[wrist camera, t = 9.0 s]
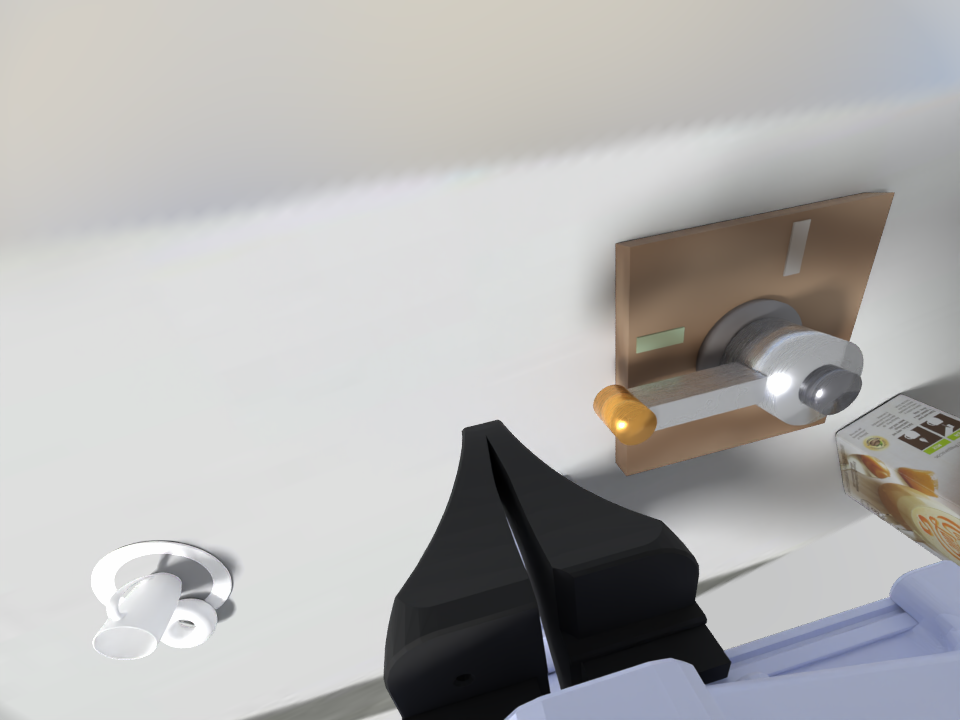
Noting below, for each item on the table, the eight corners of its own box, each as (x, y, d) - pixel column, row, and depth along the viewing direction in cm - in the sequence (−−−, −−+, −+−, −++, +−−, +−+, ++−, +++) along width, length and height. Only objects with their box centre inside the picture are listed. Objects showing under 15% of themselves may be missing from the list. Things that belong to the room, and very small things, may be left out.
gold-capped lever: (801, 309, 22) (899, 337, 17) (785, 381, 24) (868, 422, 19) (585, 361, 20) (632, 406, 16) (588, 433, 23) (631, 489, 18)
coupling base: (805, 412, 29) (832, 427, 27) (615, 462, 27) (631, 482, 25) (864, 192, 22) (907, 192, 20) (615, 243, 20) (636, 248, 19)
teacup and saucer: (232, 622, 28) (205, 687, 24) (104, 623, 26) (53, 695, 22) (236, 538, 25) (206, 598, 21) (91, 531, 22) (29, 597, 19)
